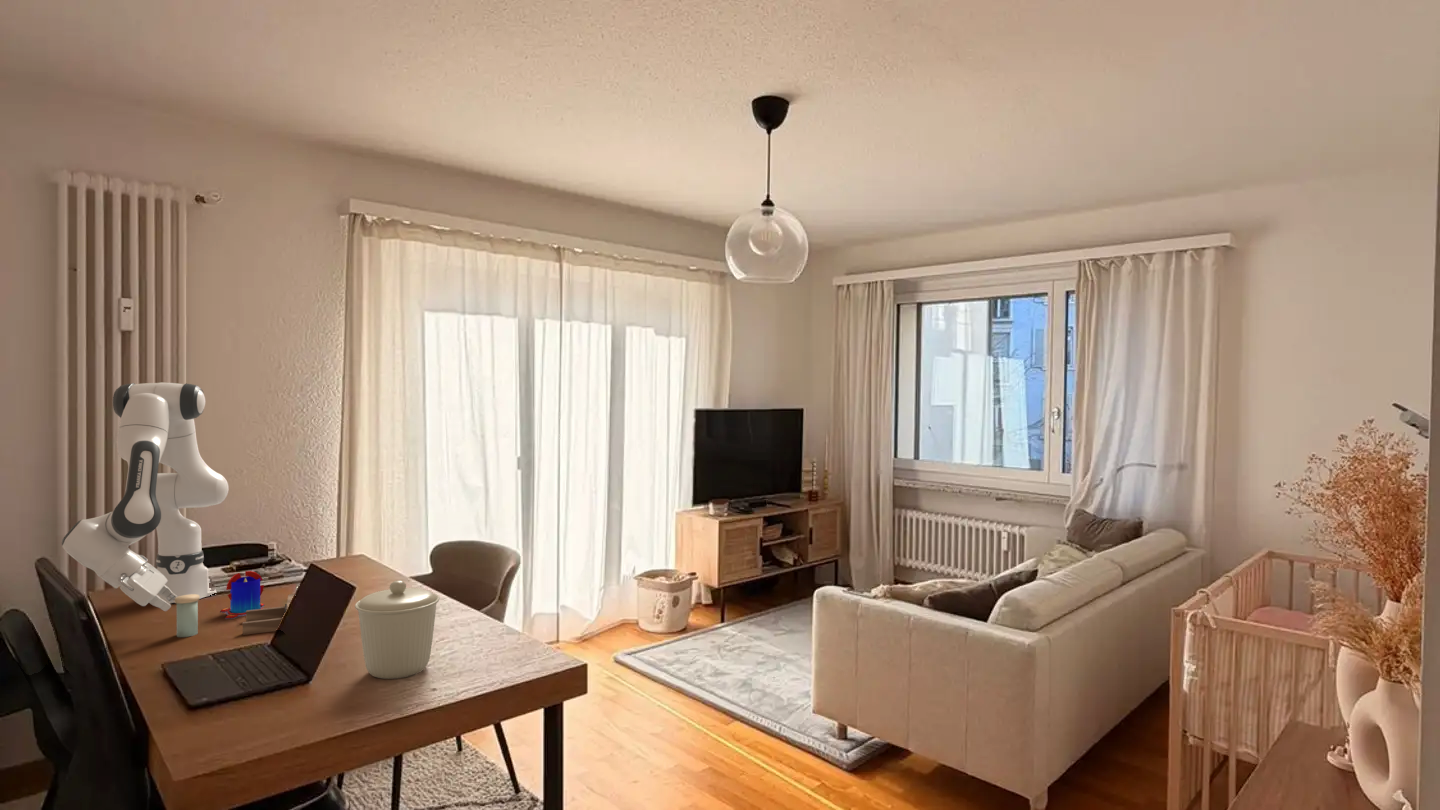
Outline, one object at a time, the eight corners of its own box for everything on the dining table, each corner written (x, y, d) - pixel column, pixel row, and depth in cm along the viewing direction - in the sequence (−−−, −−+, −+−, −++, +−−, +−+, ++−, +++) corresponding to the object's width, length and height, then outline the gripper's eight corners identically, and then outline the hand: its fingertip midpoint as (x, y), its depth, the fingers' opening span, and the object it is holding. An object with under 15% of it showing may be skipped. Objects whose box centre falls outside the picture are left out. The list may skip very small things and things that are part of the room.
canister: (387, 692, 167) (387, 595, 167) (338, 675, 177) (337, 583, 177) (456, 667, 183) (456, 578, 182) (407, 653, 192) (407, 568, 192)
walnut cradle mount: (246, 620, 219) (246, 598, 219) (294, 614, 225) (294, 594, 224) (242, 636, 205) (242, 613, 205) (293, 629, 210) (293, 607, 210)
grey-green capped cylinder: (176, 633, 207) (176, 595, 207) (200, 630, 210) (200, 593, 209) (173, 638, 202) (173, 600, 202) (198, 635, 205) (198, 598, 205)
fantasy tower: (225, 620, 219) (225, 577, 219) (218, 611, 228) (218, 570, 228) (272, 612, 227) (272, 571, 227) (264, 604, 236) (263, 564, 236)
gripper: (127, 569, 191) (175, 604, 196) (144, 554, 209) (187, 586, 214) (105, 589, 189) (154, 624, 194) (123, 572, 207) (168, 604, 212)
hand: (172, 604), depth 204 cm, fingers open, 8 cm apart
